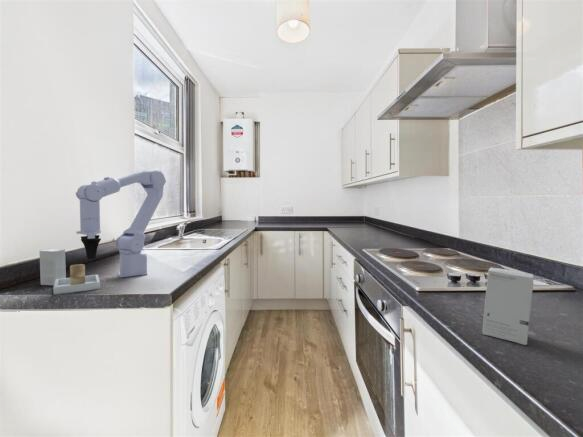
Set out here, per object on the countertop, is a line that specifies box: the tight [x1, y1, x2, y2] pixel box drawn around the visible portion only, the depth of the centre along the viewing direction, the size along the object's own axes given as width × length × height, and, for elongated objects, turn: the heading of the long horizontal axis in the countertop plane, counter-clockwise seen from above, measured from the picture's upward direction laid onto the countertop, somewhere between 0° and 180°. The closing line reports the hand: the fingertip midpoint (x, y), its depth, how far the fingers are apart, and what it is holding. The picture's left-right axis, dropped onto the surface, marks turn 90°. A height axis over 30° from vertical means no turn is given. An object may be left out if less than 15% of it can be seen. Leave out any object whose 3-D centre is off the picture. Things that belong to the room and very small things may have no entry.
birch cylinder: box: [69, 263, 86, 285], centre depth 97 cm, size 4×4×7 cm
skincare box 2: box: [482, 267, 535, 346], centre depth 65 cm, size 8×6×15 cm
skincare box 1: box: [39, 248, 67, 286], centre depth 101 cm, size 6×4×12 cm
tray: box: [52, 274, 101, 296], centre depth 97 cm, size 12×12×2 cm
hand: (91, 256), depth 102 cm, fingers open, 7 cm apart
